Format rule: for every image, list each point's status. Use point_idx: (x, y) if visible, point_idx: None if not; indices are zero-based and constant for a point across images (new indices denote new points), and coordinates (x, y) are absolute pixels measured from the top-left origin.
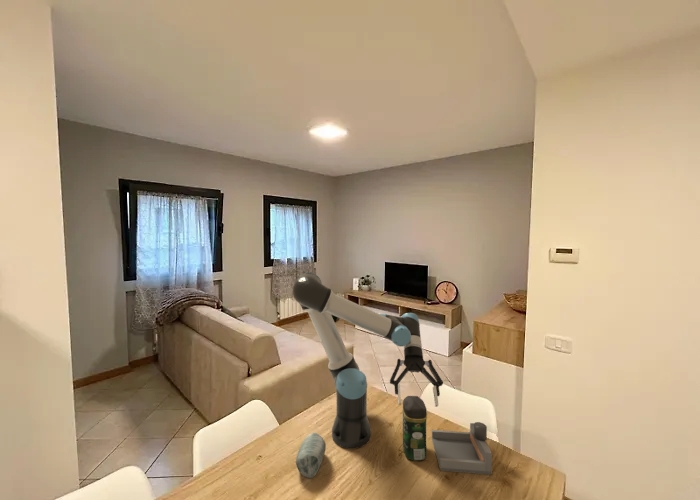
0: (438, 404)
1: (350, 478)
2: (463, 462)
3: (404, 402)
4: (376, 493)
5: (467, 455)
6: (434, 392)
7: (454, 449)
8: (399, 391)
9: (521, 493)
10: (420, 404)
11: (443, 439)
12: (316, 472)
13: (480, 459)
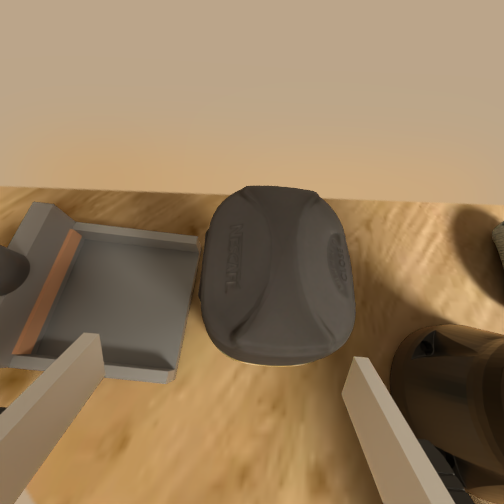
0: (83, 333)
1: (411, 234)
2: (135, 229)
3: (349, 282)
4: (352, 201)
5: (98, 285)
6: (21, 436)
7: (124, 310)
8: (406, 442)
9: (49, 189)
10: (244, 229)
11: (136, 360)
12: (496, 229)
13: (74, 249)
